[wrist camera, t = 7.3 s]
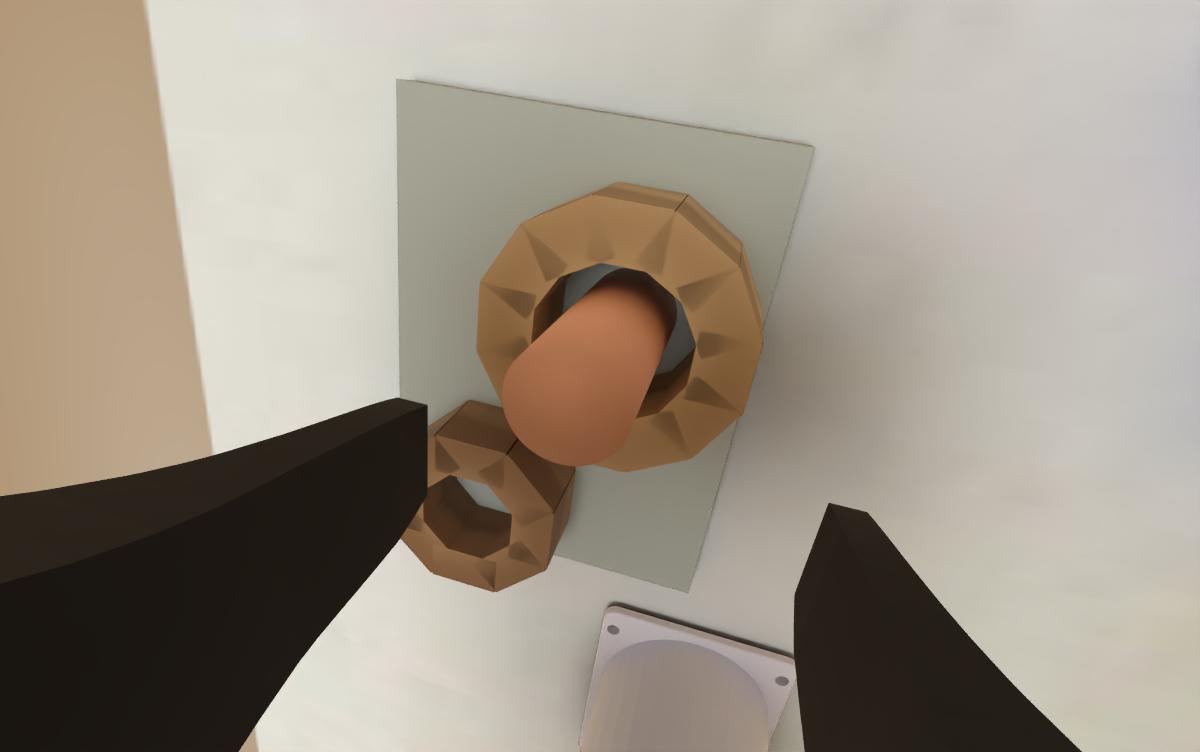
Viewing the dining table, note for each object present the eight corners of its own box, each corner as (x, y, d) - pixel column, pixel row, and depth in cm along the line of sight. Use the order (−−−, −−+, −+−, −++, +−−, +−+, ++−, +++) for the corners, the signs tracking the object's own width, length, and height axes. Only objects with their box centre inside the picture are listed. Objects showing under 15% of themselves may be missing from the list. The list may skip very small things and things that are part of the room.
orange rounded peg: (668, 362, 19) (622, 479, 12) (584, 344, 19) (498, 448, 13) (684, 276, 17) (643, 357, 11) (594, 259, 18) (505, 328, 12)
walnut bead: (562, 557, 23) (541, 606, 21) (423, 516, 24) (388, 560, 22) (582, 427, 20) (560, 467, 18) (424, 387, 21) (384, 421, 19)
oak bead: (724, 444, 19) (719, 497, 17) (508, 391, 21) (471, 433, 18) (788, 212, 16) (795, 232, 13) (526, 164, 17) (485, 174, 15)
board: (690, 574, 23) (688, 593, 22) (413, 496, 25) (401, 510, 24) (811, 145, 16) (814, 147, 15) (414, 80, 18) (396, 79, 17)
